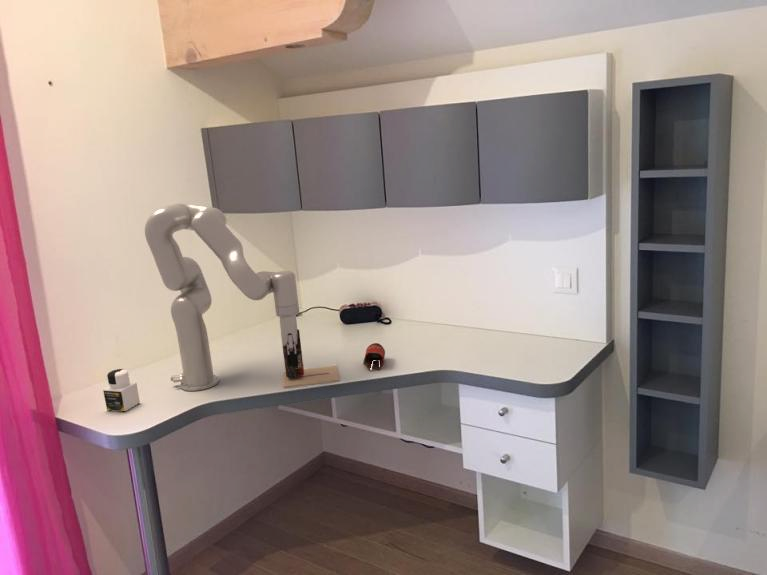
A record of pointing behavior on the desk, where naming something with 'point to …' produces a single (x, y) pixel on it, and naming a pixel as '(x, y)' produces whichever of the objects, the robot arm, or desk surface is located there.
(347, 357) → the desk surface
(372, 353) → the beverage can
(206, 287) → the robot arm
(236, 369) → the desk surface
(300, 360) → the deodorant
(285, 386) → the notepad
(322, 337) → the desk surface
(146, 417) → the desk surface
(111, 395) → the medicine bottle
